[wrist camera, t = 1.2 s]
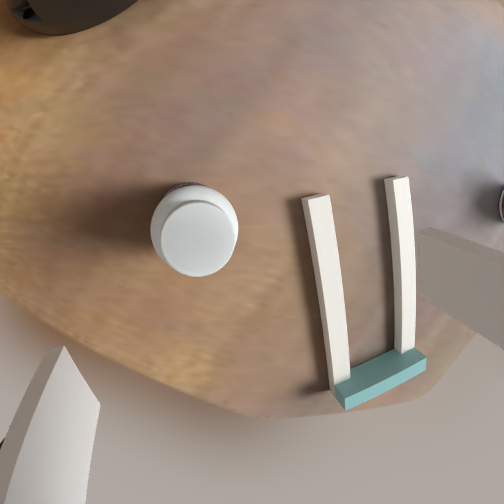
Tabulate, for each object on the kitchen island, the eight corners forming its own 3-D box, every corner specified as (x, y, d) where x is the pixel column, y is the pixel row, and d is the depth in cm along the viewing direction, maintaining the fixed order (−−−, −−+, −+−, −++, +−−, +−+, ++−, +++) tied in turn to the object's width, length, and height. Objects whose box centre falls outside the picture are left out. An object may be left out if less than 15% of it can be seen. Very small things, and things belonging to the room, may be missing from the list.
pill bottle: (224, 183, 26) (252, 190, 17) (220, 248, 27) (245, 289, 18) (157, 180, 24) (147, 186, 15) (155, 246, 26) (146, 288, 16)
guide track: (301, 198, 27) (320, 203, 24) (398, 175, 29) (425, 178, 25) (330, 390, 34) (345, 410, 30) (406, 354, 36) (425, 370, 32)
